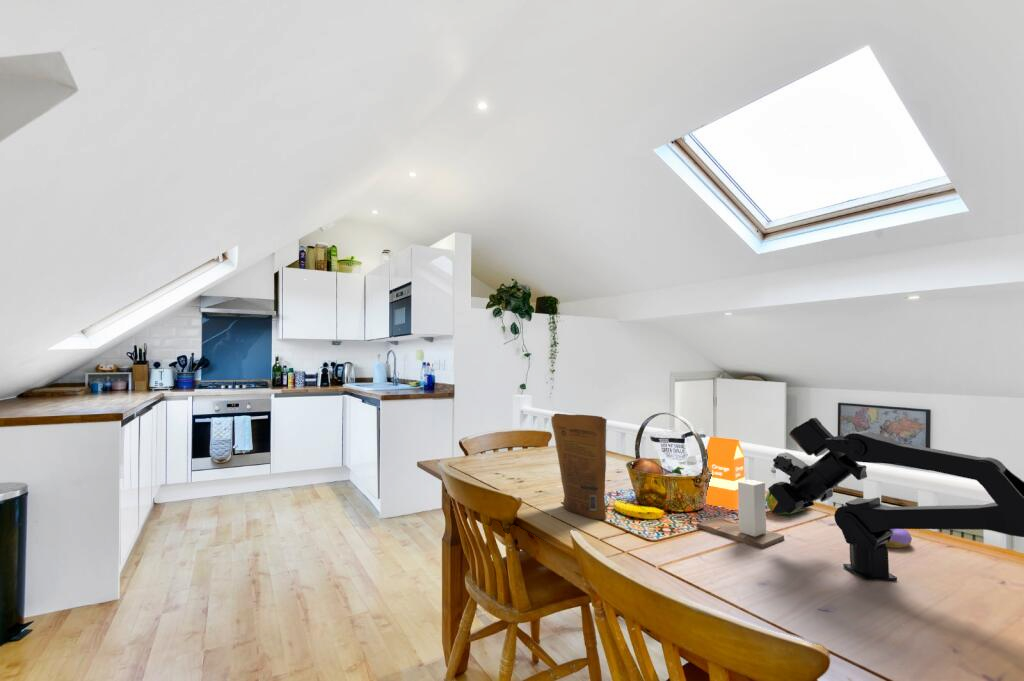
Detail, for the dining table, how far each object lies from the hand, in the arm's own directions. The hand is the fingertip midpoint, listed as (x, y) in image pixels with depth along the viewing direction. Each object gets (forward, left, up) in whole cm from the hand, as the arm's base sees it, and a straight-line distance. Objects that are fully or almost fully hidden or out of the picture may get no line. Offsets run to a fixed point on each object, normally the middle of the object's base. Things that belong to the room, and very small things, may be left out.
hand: (775, 511), depth 111 cm
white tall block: (+5, +3, -6) cm, 8 cm away
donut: (+2, -27, -8) cm, 28 cm away
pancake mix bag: (+23, +42, -8) cm, 49 cm away
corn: (+26, -18, -8) cm, 33 cm away
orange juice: (+31, -2, -8) cm, 32 cm away
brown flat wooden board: (+7, +5, -8) cm, 12 cm away
